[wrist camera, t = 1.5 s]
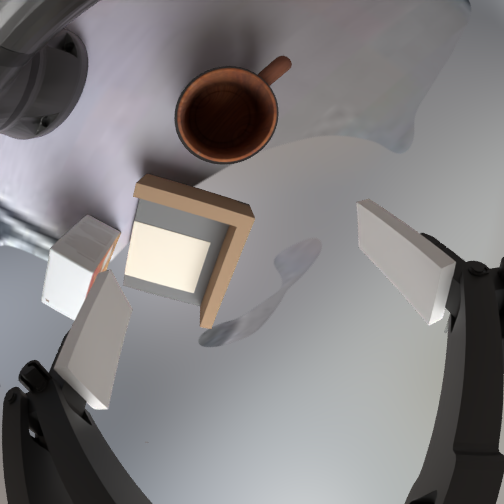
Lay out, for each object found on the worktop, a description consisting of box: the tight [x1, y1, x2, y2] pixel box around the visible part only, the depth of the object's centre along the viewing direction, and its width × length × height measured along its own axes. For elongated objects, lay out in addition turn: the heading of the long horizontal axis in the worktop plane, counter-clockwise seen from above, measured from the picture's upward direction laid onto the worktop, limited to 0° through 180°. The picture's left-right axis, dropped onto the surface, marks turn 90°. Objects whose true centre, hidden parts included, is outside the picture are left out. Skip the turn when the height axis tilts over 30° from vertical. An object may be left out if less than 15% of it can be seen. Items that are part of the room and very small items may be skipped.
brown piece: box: [123, 174, 255, 329], centre depth 33 cm, size 13×16×5 cm
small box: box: [41, 214, 121, 320], centre depth 29 cm, size 8×6×10 cm
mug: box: [175, 56, 292, 164], centre depth 23 cm, size 9×12×12 cm
